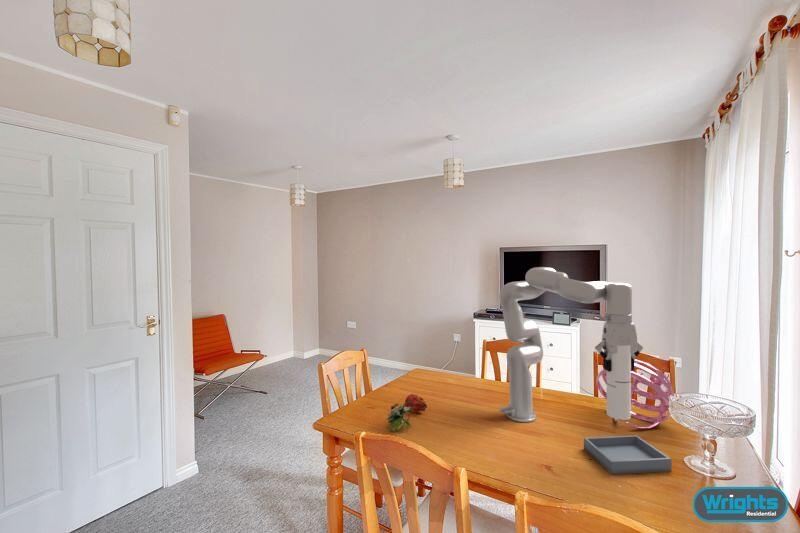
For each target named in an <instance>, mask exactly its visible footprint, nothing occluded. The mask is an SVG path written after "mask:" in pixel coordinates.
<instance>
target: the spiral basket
mask: <svg viewBox="0 0 800 533" xmlns="http://www.w3.org/2000/svg"><path fill="white" fill-rule="evenodd" d="M639 363H640V364H639ZM641 364H642V365H641ZM646 366H647V367H649V368H647V367H646ZM634 369H638V370H641V371H643V372H644V373H647V375H650V377H651V379H652V380H651V379H648V378H647V377H645V376H643V374H644V373H643V372H641V373H640V374H639V373H637V372H635V371H631V379H633V382H631V406H634V407H635V408H638V409H641V410H644V411H647V412H648V411H649V412H653V413H654V412H655V413H658V415H657V416H655V417H654V416H648V415H644V414H640V413H638V412H636V411H633V410H631V418H635V419H638V420H641V421H645V422H650V423H651V424H650V425H647V426H639V425H636V424H632V423H630V422H627V421H626V422H625V424H627V425H628V426H630V427H632V428H633V429H638V430H650V429H652V428H655V427H657V426H658V425H659V424H660V423H663V422H664V421H667V420H668V419H669V418H670V417H671V416H670V414H669V409H668V408H669V399H670V396H671V397H672V396H674V395H675V392H674V390H673V387H672V384H671V381H670V380H669V378H668V376H666V375H665V373H664V372H662V371H661V370H660V369H658V368H657V367H656V366H655V365H653V364H651V363H649V362H647V361H644V360H640V359H637V358H636V359H634ZM601 377H602V380H603V382H604V383H605V385H606V386H607V370H605V369H604V367H602V370H601V371H600V372H599V373H598V374H597V376H596V387H597V389H598V390H599V393H600V394H601V395H602V397H603V398H605V400H606V401H607V391H605V389H604V388H603V386H602V384H601V381H600V378H601ZM638 384H643V385H645V386H647V387H649V388H650V389H651V390H652V391H654V392H649V391H645V390H643V389H640V388H638ZM662 385H663V386H664V387H665V388H666V390H665V391H664V390H663V389H662V387H661V386H662ZM633 394H636V395H638V396H641V397H644V398H646V399H649V400H650V399H651V400H658V401H659V403H660V404H659V405H651V404H648V403H643V402H641V401H638V400H636V399H634V398H632V395H633ZM667 412H668V413H667ZM666 413H667V414H666ZM665 414H666V415H665ZM613 420H614V422H617V423H618V422H619V419H615V418H613Z"/></svg>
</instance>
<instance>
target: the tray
mask: <svg viewBox="0 0 800 533" xmlns="http://www.w3.org/2000/svg"><path fill="white" fill-rule="evenodd" d="M583 450H585V451H586V452H587V453H588V454H589V455H590V456H591V457H592V458H593V459H595V460H596V461H597V462H598V463H599V464H600V465H601V466H602V467H603V468H604V469H605V470H607V472H609V474H611V475H622V474H623V475H624V474H627V473H628V474H641V473H663V472H673V471H672V458H671V457H669V456H668V455H666V454H665V453H664V452H662V451H661V450H659V449H657V448H656V447H655V446H653V445H652V444H651V443H649V442H647V441H646V440H644V439H642V438H641V437H640V436H638V435H636V434H635V435H615V436H599V437H598V436H597V437H596V436H595V437H583Z"/></svg>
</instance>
